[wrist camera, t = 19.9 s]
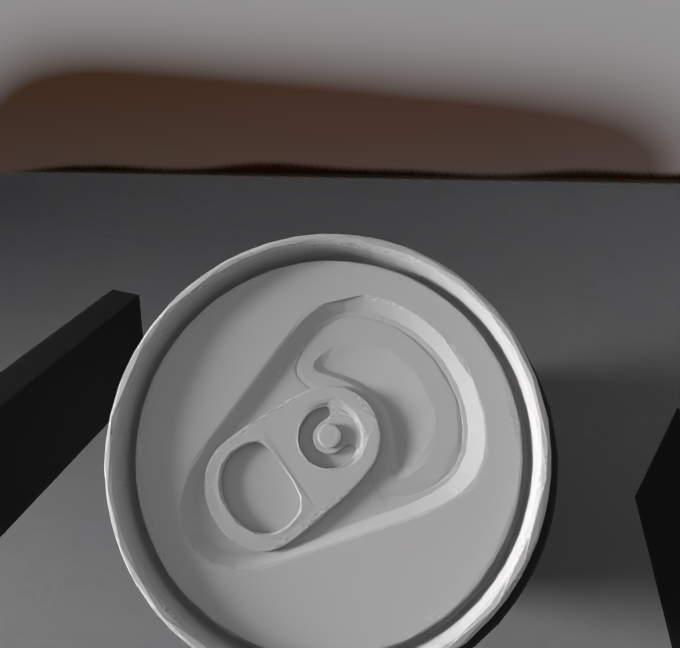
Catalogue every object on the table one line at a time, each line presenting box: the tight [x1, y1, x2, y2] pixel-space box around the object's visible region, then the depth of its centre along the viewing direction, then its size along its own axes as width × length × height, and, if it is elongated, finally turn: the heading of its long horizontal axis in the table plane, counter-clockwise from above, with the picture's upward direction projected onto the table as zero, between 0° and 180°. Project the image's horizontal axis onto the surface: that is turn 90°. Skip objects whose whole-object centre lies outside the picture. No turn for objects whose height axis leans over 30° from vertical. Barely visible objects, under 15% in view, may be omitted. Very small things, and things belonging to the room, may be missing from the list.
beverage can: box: [104, 234, 558, 648], centre depth 13 cm, size 7×7×12 cm
